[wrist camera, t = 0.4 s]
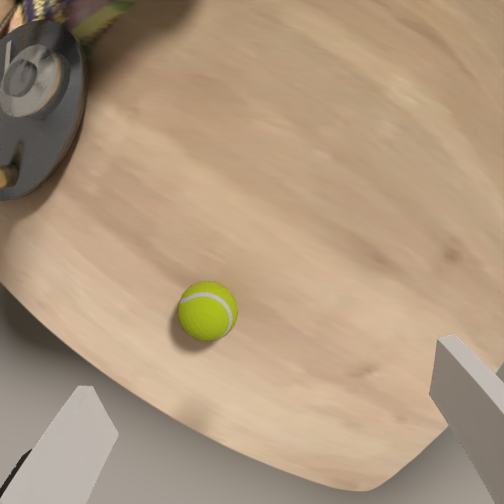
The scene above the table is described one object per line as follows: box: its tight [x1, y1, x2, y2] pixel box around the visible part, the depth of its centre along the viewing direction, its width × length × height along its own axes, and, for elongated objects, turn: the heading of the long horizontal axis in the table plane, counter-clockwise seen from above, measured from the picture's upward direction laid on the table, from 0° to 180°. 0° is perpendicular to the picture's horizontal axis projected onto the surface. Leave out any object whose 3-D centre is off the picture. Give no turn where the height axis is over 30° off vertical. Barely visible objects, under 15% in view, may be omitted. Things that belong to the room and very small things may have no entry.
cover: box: [0, 44, 70, 120], centre depth 25 cm, size 9×9×6 cm
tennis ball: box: [178, 281, 238, 341], centre depth 35 cm, size 7×7×7 cm
